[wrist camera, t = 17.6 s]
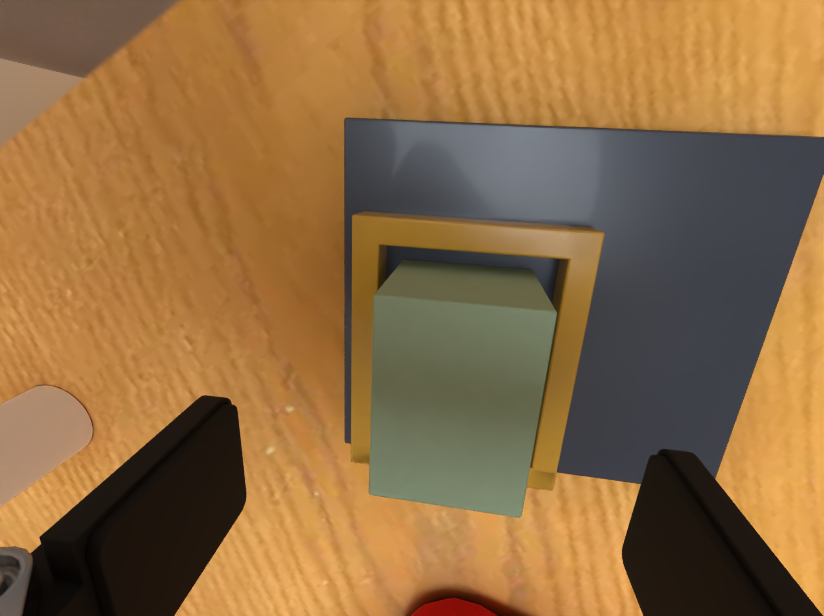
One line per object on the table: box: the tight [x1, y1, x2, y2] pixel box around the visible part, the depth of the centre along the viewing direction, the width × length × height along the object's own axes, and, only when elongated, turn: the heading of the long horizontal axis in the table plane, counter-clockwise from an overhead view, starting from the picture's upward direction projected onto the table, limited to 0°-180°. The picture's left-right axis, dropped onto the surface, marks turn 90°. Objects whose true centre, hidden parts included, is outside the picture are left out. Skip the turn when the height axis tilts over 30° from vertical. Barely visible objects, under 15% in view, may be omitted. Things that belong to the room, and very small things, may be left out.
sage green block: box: [369, 259, 557, 518], centre depth 15 cm, size 7×5×5 cm
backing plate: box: [344, 118, 824, 491], centre depth 16 cm, size 16×14×3 cm
